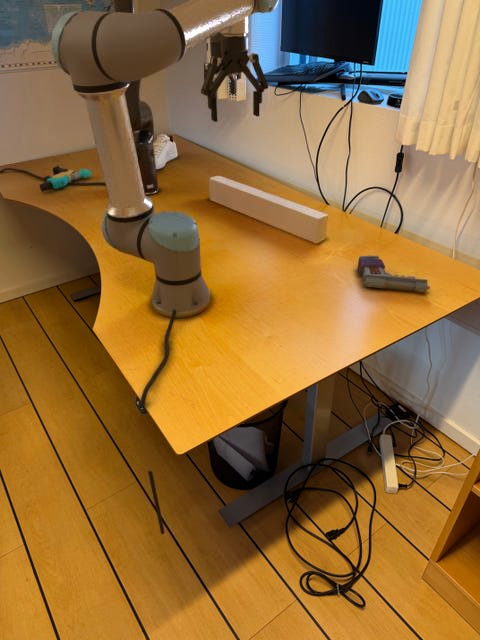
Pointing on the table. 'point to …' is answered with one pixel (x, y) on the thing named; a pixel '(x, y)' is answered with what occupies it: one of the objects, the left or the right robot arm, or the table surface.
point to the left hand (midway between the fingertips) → (223, 96)
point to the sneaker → (164, 150)
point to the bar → (269, 208)
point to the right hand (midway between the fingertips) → (235, 118)
